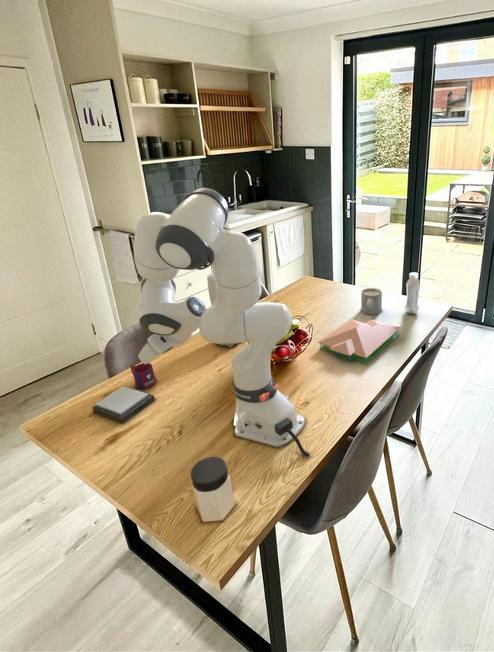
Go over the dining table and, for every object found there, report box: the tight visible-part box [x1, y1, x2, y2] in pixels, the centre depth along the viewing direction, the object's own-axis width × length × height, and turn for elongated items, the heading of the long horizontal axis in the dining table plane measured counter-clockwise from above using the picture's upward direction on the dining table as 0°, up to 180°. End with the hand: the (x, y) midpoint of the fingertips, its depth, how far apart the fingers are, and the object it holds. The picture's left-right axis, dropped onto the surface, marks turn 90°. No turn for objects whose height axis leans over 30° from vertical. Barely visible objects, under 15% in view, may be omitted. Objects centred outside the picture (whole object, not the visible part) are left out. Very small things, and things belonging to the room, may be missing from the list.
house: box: [317, 318, 402, 365], centre depth 166 cm, size 23×33×8 cm
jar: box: [190, 456, 236, 523], centre depth 93 cm, size 9×8×12 cm
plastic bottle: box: [404, 272, 421, 315], centre depth 190 cm, size 6×7×20 cm
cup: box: [130, 362, 157, 390], centre depth 145 cm, size 7×10×7 cm
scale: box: [91, 385, 156, 424], centre depth 133 cm, size 14×13×3 cm
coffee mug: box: [360, 287, 383, 315], centre depth 195 cm, size 13×10×10 cm
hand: (158, 353), depth 135 cm, fingers open, 8 cm apart
